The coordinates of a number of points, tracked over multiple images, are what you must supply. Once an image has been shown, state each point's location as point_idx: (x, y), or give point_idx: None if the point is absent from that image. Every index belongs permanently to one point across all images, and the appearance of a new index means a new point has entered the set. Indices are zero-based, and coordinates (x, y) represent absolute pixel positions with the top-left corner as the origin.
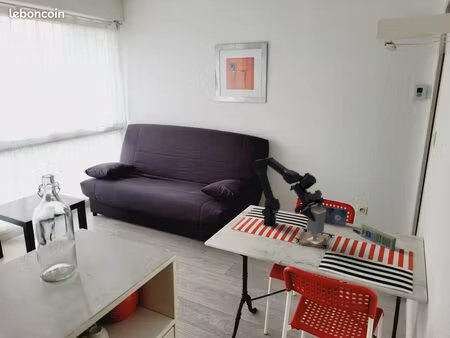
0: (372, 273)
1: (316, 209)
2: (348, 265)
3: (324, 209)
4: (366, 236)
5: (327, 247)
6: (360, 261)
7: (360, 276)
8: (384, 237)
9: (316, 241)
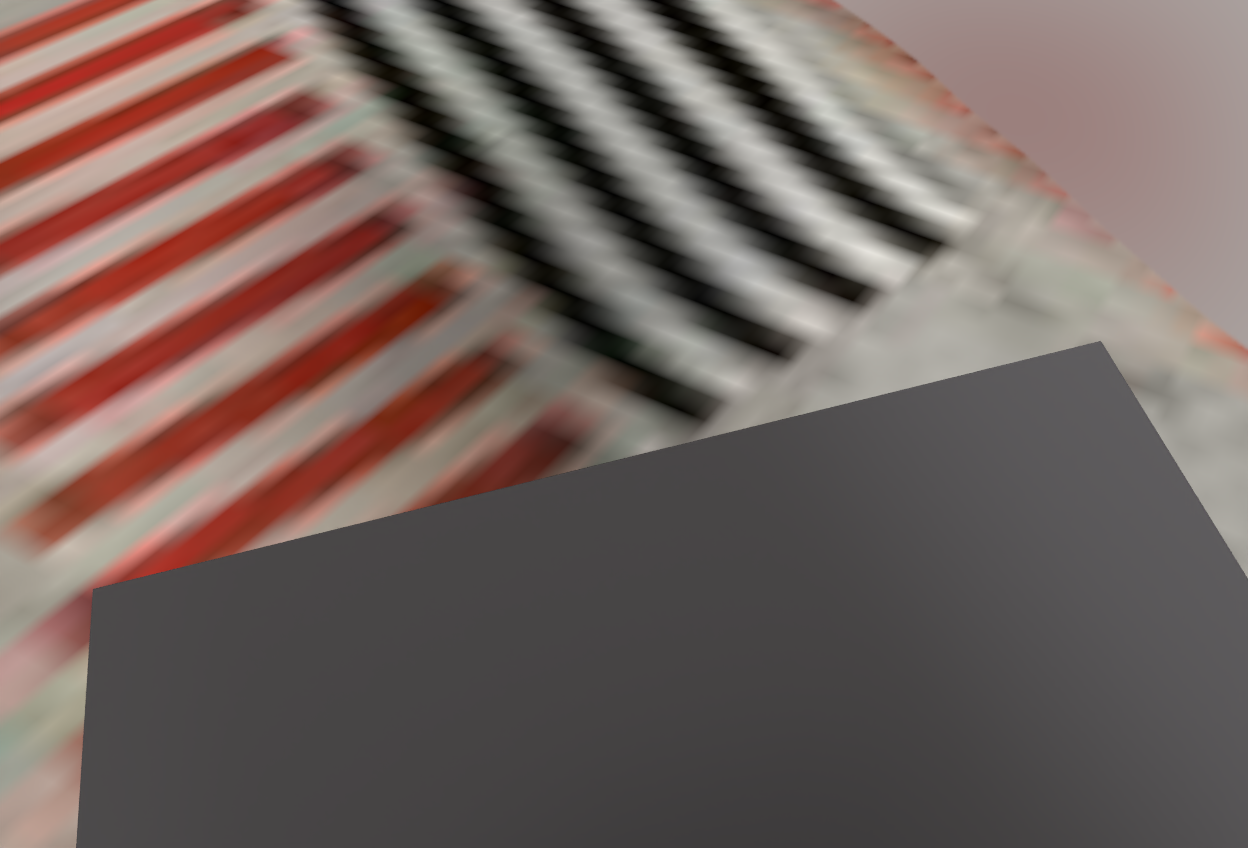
0: (558, 12)
1: (1138, 772)
2: (650, 153)
3: (341, 534)
4: None
5: None
6: (483, 159)
7: (686, 18)
8: None
9: None
